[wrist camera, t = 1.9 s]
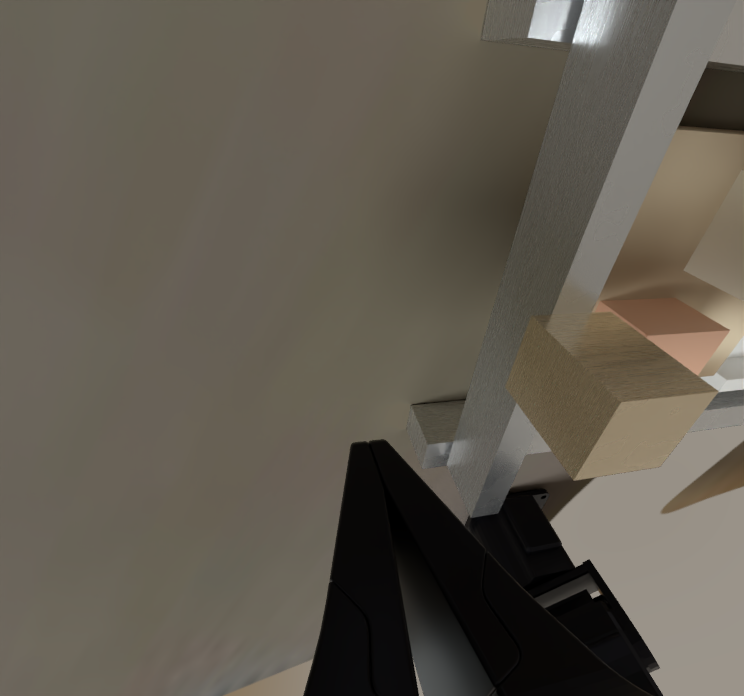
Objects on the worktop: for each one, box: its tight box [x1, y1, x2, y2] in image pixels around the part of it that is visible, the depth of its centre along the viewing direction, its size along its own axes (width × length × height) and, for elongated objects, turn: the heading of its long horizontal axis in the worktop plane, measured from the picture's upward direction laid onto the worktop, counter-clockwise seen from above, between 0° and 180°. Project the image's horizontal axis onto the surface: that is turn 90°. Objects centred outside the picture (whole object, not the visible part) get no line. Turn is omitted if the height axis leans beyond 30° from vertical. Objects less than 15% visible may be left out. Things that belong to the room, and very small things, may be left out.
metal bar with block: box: [447, 0, 737, 518], centre depth 14 cm, size 20×3×7 cm, turn 175°
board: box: [592, 126, 744, 377], centre depth 20 cm, size 13×15×2 cm
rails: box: [407, 0, 744, 469], centre depth 21 cm, size 21×31×3 cm
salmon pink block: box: [595, 298, 730, 376], centre depth 20 cm, size 4×4×3 cm
